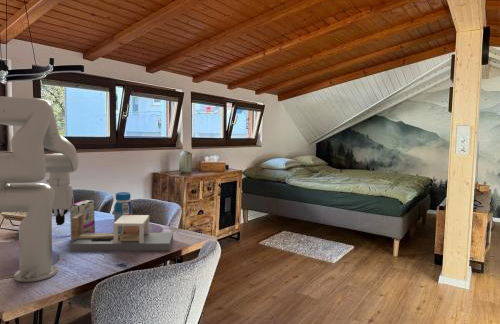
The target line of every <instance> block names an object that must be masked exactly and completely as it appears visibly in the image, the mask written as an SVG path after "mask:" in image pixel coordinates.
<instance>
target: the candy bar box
mask: <svg viewBox="0 0 500 324" xmlns="http://www.w3.org/2000/svg"><path fill="white" fill-rule="evenodd" d="M73 208H74V210H73V211H70V212H69V214H70V215H69V219H70V225H71V218H73V217H74V216H76V215H77V214H83V233H96V230H95V229H96V228H95V227H96V226H95V225H96V224H95V223H96V221H95V200H91V199H89V200H88V199H84V200H82V201H78V202H75V203H74V205H73ZM70 240H73V241H75V240H76V239H72V229H71V228H70Z"/></svg>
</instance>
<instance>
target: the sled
mask: <svg viewBox="0 0 500 324" xmlns="http://www.w3.org/2000/svg"><path fill="white" fill-rule="evenodd" d="M70 223H71V224H70V230H71V229H72V239H77V238H114V234H83V214H77V215H76V216H74V217H73V218H71V222H70ZM118 238H120V241H139V233H138V234H125V229H124V230H123V232H122V233H121V234H118ZM72 239H71V240H72Z"/></svg>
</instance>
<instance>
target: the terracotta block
mask: <svg viewBox="0 0 500 324" xmlns="http://www.w3.org/2000/svg"><path fill="white" fill-rule="evenodd" d="M138 233H139V226H125V234H138Z"/></svg>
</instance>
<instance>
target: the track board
mask: <svg viewBox="0 0 500 324" xmlns="http://www.w3.org/2000/svg"><path fill="white" fill-rule="evenodd" d="M118 226H122V232H123V230H124V229H125V226H139V241H120V238H118V234H121V233H118ZM83 234H114V238H77V239H76V240H73V241H72V242H71V243H70V244H69V245H70V249H69V251H70V252H101V251H102V252H103V251H104V252H110V251H111V252H112V251H113V252H117V251H121V252H122V251H123V252H124V251H130V252H131V251H133V252H134V251H142V252H143V251H170V249H171V246H172V243H173V240H174V232H150V215H149V214H132V215H122V216H121V217H120V218H119V219H118V220H117V221H116V222H115V223H114V222H113V232H95V233H83Z"/></svg>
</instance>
